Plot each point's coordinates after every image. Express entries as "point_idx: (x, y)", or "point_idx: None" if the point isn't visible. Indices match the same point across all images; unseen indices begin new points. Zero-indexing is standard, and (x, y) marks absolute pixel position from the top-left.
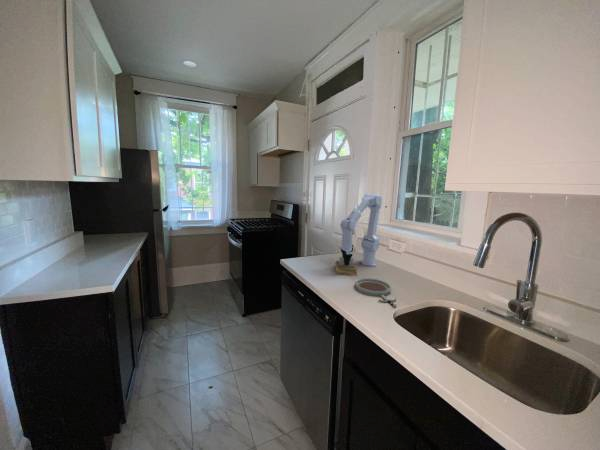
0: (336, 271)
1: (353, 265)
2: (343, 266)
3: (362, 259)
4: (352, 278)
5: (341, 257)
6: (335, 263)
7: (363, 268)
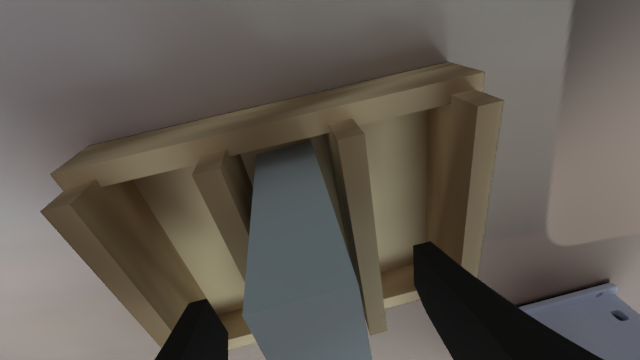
0: (151, 136)
1: (365, 316)
2: (235, 253)
3: (618, 305)
4: (79, 307)
5: (338, 334)
6: (448, 86)
7: (416, 322)
